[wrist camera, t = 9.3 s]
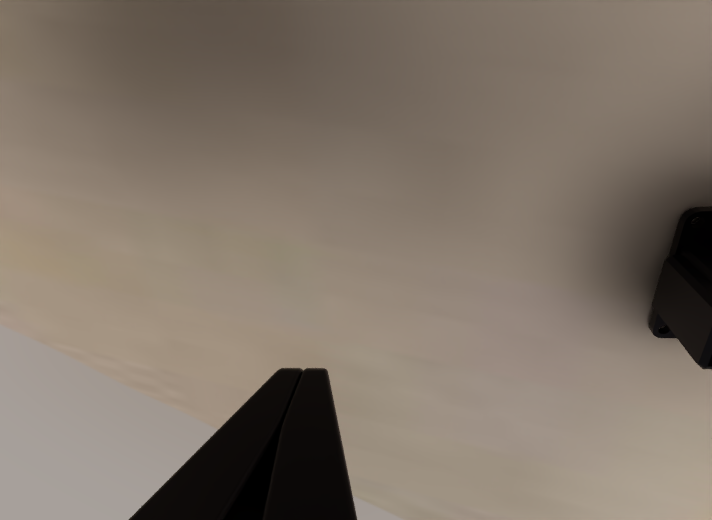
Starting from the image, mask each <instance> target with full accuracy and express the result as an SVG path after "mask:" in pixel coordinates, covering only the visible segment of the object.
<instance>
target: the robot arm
mask: <svg viewBox="0 0 712 520" xmlns="http://www.w3.org/2000/svg"><path fill="white" fill-rule="evenodd" d="M697 217H699V220H698V221H697V222H696V223H694V224H691V222H692V220H693V219H695V218H697ZM652 306H653V308H654V309H653V312H652V316H651V319H650V323H649V328H650V330H651V332H652V333H653V334H654V336H656V337H658V338H677V339H678V340H679V341H680V343H681V344H682V345H683V346H684V348H685V349H686V350H687V352H688V353H689V354H690V356H691V357H692V358H693V359H694V361H695V362H696V363H697V364H698V365H699V366H700V367H701V368H702V369H712V207H695V208H690V209H689V210H687V211H685V212H684V213H683V214H682V215H681V217H680V219H679V222H678V226H677V229H676V233H675V236H674V240H673V243H672V247H671V250H670V253H669V256H668V257H667V258H666V259H665V260H664V264H663V267H662V271H661V274H660V278H659V281H658V285H657V288H656V292H655V295H654V299H653V302H652ZM665 325H666V326H665ZM662 326H665V327H663V328H660V327H662ZM659 328H660V329H659ZM129 520H357V516H356V511H355V506H354V501H353V496H352V491H351V486H350V481H349V476H348V471H347V466H346V461H345V456H344V451H343V446H342V441H341V436H340V431H339V426H338V421H337V416H336V410H335V405H334V400H333V395H332V390H331V385H330V380H329V375H328V371H327V370H326V369H325V368H306V369H305V370H304V371H303V370H302V369H301V368H281V369H279V370H278V371H276V372H275V373H274V374H273V375H272V376H271V377H270V378H269V380H268V381H267V382H266V383H265V384H264V385H263V386H262V387H261V388H260V389H259V390H258V391H257V392H256V393H255V394H254V395H253V396H252V397H251V398H250V399H249V400H248V401H247V402H246V403H245V404H244V405H243V406H242V407H241V408H240V409H239V410H238V411H237V412H236V413H235V414H234V415H233V416H232V417H231V418H230V419H229V420H228V421H227V422H226V423H225V424H224V425H223V426H222V427H221V428H220V429H219V430H218V431H217V432H216V433H215V434H214V435H213V436H212V437H211V438H210V439H209V440H208V441H207V442H206V443H205V444H204V445H203V446H202V447H201V448H200V449H199V450H198V451H197V452H196V453H195V454H194V455H193V456H192V457H191V458H190V459H189V460H188V461H187V462H186V463H185V464H184V465H183V466H182V467H181V468H180V469H179V470H178V471H177V472H176V473H175V474H174V475H173V476H172V477H171V478H170V479H169V480H168V481H167V482H166V483H165V484H164V485H163V486H162V487H161V488H160V489H159V490H158V491H157V492H156V493H155V494H154V495H153V496H152V497H151V498H150V499H149V500H148V501H147V502H146V503H145V504H144V505H143V506H142V507H141V508H140V509H139V510H138V511H137V512H136V513H135V514H134V515H133V516H132V517H131V518H130V519H129Z"/></svg>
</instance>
